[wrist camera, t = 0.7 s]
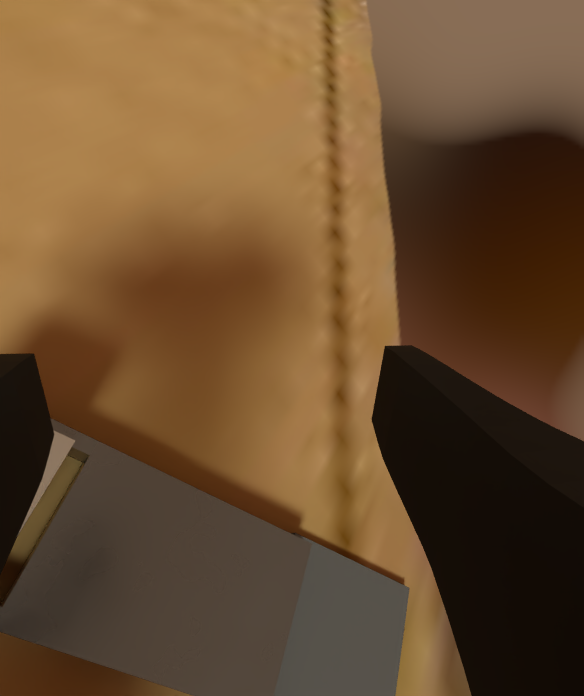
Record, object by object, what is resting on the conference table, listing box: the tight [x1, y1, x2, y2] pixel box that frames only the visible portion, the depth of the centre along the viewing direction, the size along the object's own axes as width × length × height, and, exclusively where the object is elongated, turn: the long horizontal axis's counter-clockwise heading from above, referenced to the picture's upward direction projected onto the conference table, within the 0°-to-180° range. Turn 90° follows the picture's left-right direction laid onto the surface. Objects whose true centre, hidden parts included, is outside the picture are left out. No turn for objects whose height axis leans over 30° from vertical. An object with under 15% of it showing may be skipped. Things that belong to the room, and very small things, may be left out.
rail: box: [0, 418, 312, 696], centre depth 21 cm, size 8×24×2 cm, turn 69°
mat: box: [274, 533, 409, 696], centre depth 26 cm, size 9×9×1 cm
